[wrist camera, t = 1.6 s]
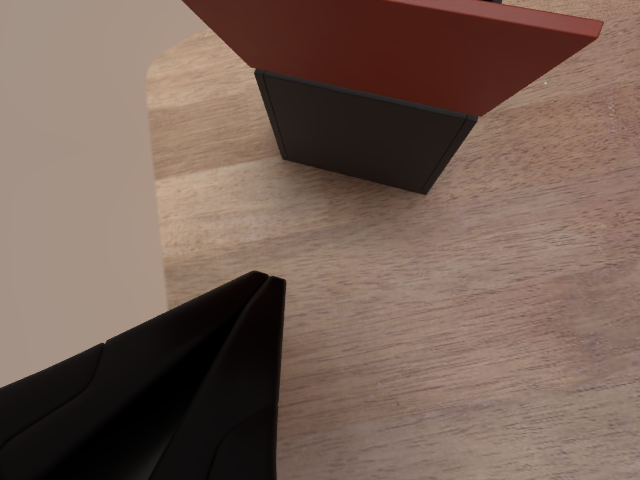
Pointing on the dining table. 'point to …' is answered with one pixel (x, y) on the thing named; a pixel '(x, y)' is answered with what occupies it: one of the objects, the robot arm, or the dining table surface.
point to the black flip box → (362, 131)
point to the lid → (402, 45)
